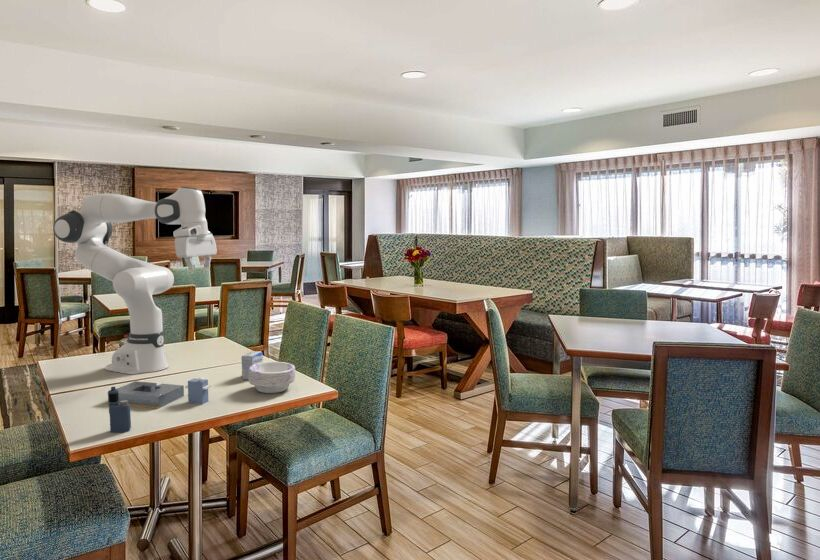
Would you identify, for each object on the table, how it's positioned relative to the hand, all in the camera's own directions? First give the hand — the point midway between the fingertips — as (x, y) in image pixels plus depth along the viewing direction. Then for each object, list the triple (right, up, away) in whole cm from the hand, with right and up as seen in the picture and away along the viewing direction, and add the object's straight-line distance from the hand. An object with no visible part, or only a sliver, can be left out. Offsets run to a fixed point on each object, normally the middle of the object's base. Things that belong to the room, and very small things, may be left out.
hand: (199, 268), depth 198 cm
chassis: (-6, -42, -27) cm, 50 cm away
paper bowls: (+31, -41, -15) cm, 54 cm away
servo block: (+11, -42, -29) cm, 52 cm away
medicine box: (+20, -40, 0) cm, 44 cm away
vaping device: (-1, -45, -53) cm, 69 cm away
